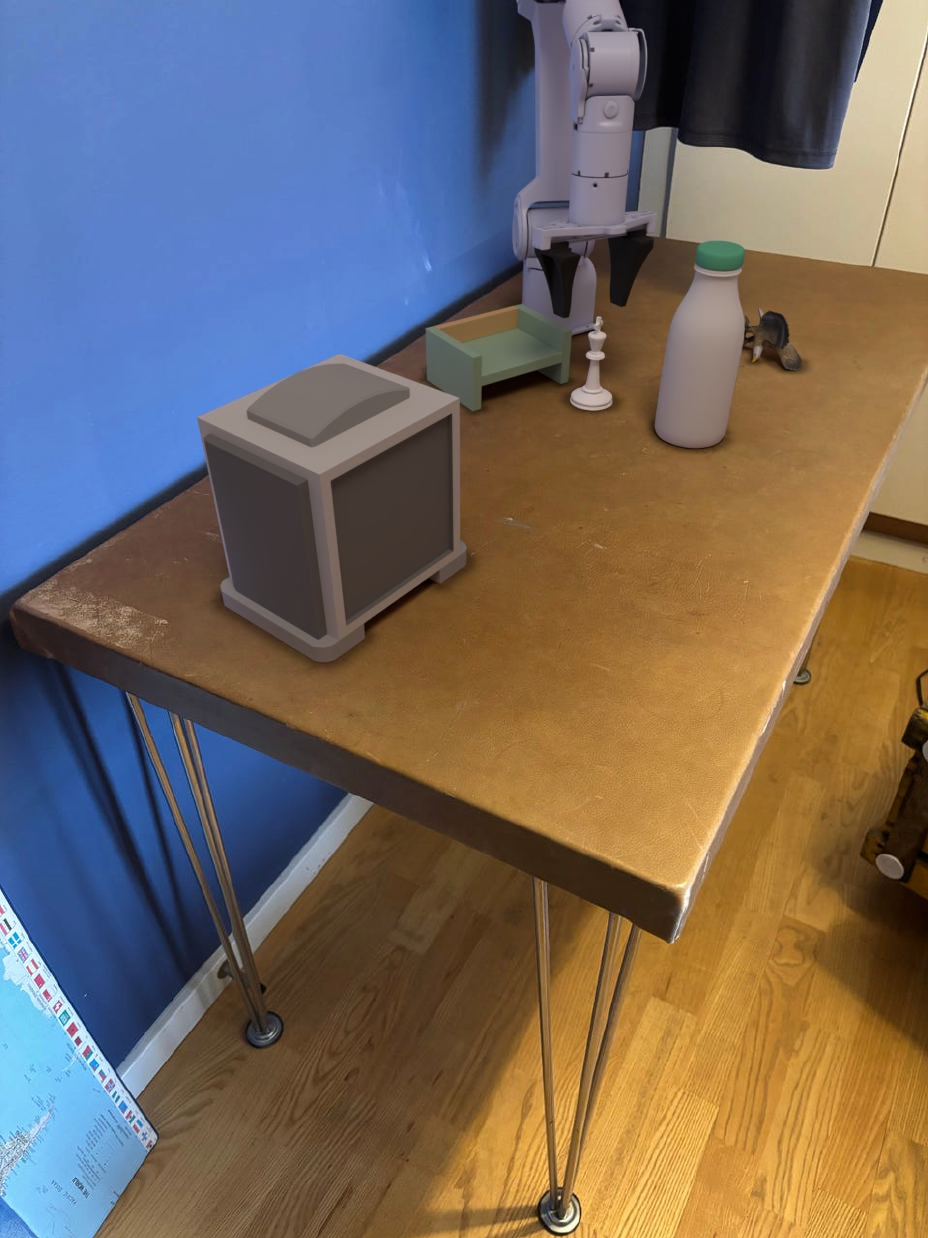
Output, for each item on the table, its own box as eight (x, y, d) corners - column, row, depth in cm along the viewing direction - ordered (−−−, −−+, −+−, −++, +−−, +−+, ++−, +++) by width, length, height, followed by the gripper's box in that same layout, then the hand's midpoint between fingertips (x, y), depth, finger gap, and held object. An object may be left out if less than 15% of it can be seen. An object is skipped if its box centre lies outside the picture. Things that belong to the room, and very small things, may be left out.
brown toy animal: (715, 351, 115) (780, 359, 109) (734, 294, 114) (801, 299, 108) (742, 368, 120) (806, 377, 114) (760, 314, 119) (825, 321, 113)
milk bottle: (725, 453, 97) (764, 262, 84) (652, 446, 98) (680, 256, 85) (724, 420, 103) (761, 236, 90) (655, 414, 104) (681, 231, 91)
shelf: (519, 353, 117) (521, 303, 113) (568, 382, 110) (572, 329, 106) (426, 380, 111) (425, 328, 107) (472, 411, 104) (473, 357, 100)
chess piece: (563, 405, 106) (569, 320, 99) (579, 388, 109) (586, 305, 103) (603, 414, 104) (612, 329, 98) (618, 397, 107) (628, 313, 101)
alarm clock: (367, 510, 88) (352, 326, 77) (472, 560, 82) (473, 368, 70) (216, 601, 78) (172, 402, 66) (324, 667, 71) (297, 460, 59)
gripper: (562, 186, 86) (555, 330, 94) (681, 171, 92) (665, 308, 99) (522, 175, 91) (518, 312, 99) (637, 161, 97) (625, 292, 104)
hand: (589, 309), depth 99 cm, fingers open, 7 cm apart
